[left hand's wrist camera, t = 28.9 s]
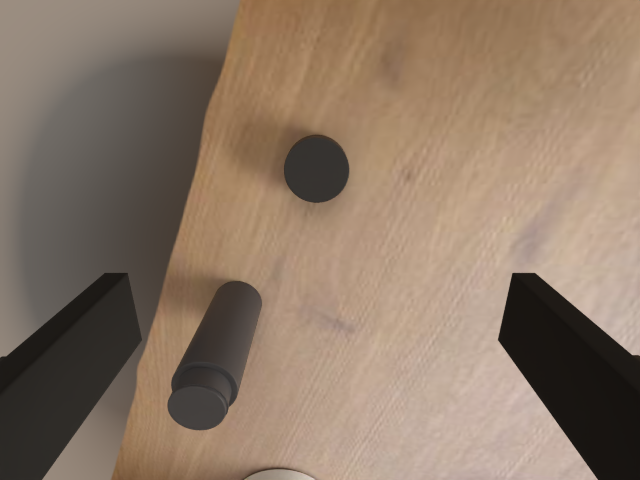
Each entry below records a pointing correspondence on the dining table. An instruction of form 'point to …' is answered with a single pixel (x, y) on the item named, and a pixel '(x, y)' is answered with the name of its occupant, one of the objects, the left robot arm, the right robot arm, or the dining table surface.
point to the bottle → (215, 358)
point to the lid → (316, 169)
